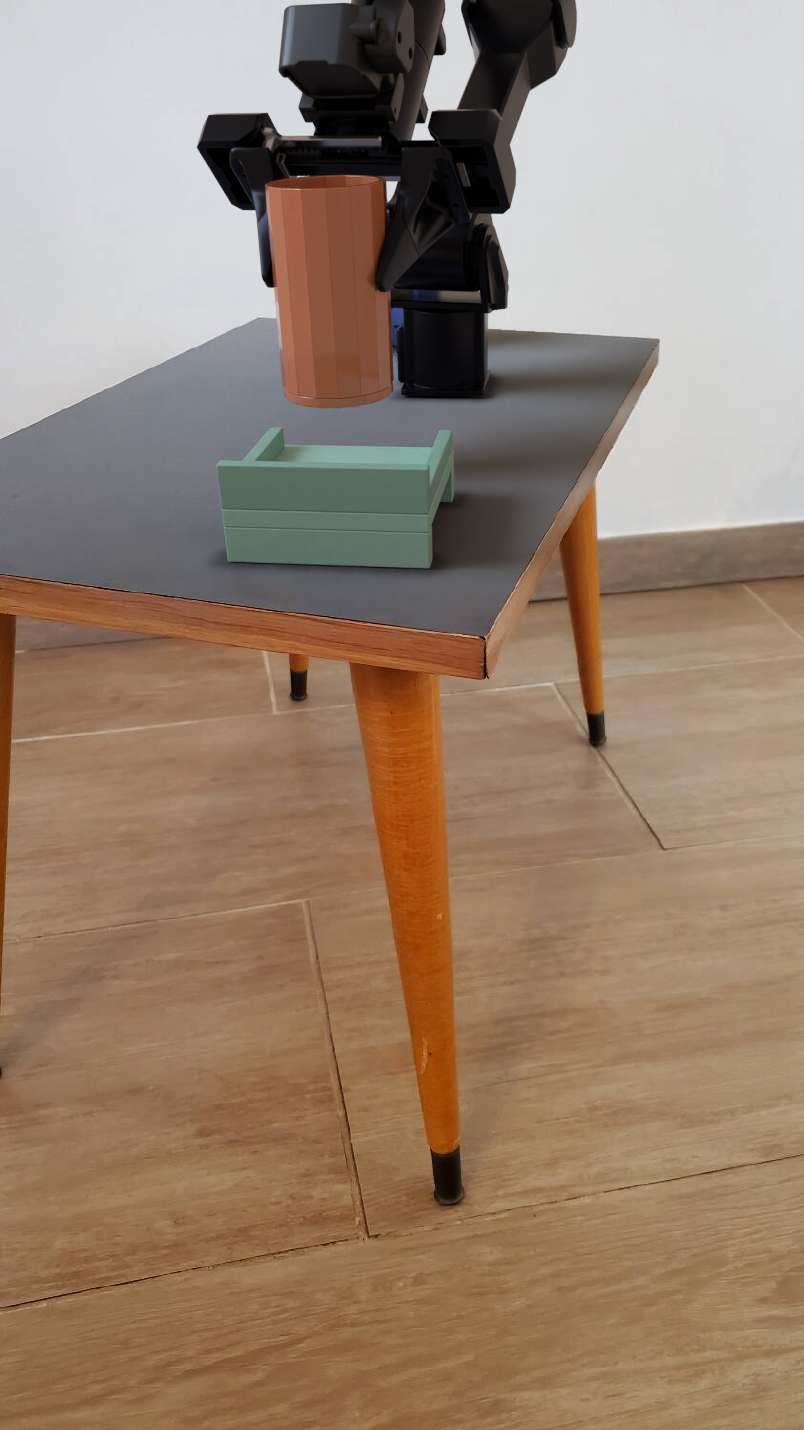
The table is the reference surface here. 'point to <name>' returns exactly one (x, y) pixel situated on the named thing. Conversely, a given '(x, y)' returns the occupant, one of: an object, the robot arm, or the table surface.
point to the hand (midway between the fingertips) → (322, 285)
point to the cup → (331, 289)
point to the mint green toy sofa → (335, 502)
